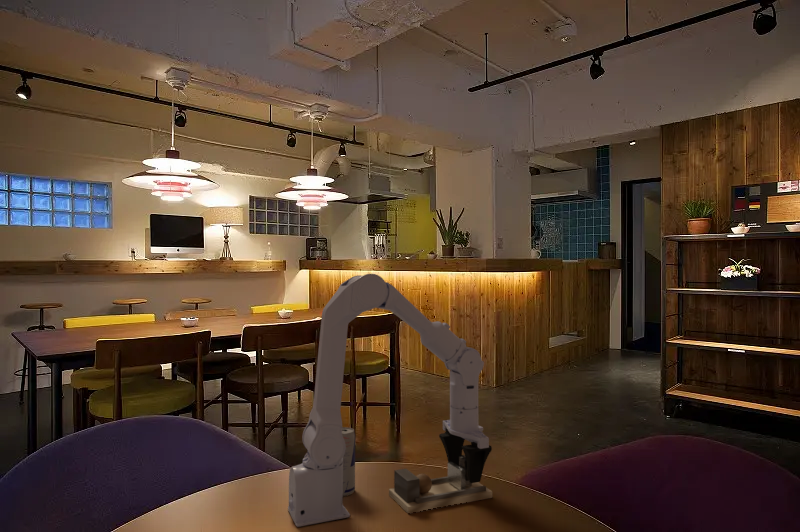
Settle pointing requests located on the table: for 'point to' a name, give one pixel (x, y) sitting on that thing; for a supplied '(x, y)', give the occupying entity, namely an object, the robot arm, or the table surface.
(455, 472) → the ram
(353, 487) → the energy drink
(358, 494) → the table surface
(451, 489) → the press base
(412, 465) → the table surface
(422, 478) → the walnut
